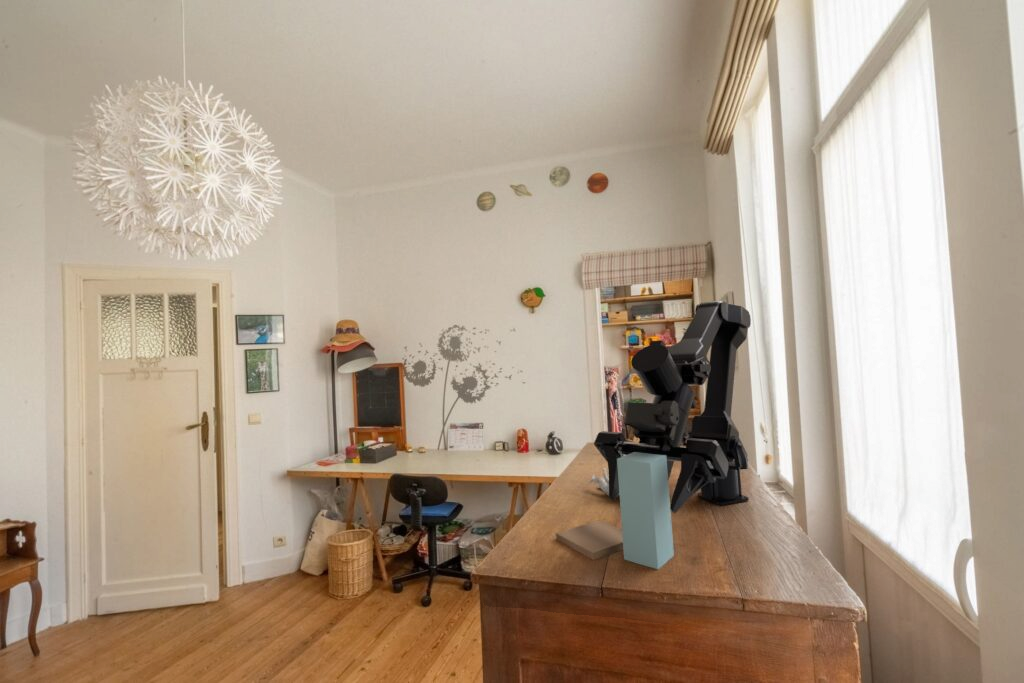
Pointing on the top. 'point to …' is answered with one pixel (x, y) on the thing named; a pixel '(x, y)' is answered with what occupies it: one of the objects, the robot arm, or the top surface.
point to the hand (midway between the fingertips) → (640, 504)
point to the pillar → (645, 509)
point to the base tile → (593, 539)
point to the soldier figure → (602, 481)
